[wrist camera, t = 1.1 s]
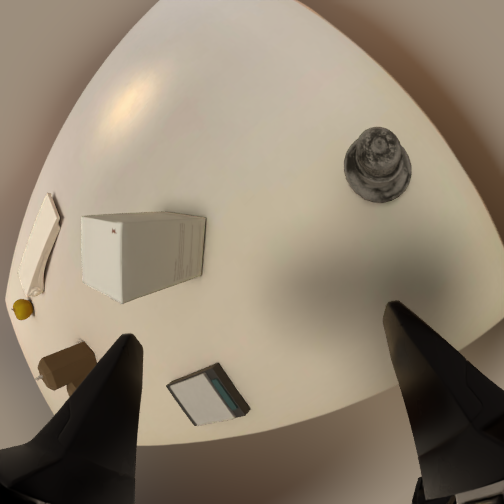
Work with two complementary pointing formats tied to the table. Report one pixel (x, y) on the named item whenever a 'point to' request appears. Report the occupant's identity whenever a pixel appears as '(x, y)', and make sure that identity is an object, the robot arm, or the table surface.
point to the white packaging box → (140, 252)
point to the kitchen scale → (208, 396)
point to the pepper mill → (377, 166)
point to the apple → (22, 309)
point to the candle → (67, 367)
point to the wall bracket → (39, 248)
